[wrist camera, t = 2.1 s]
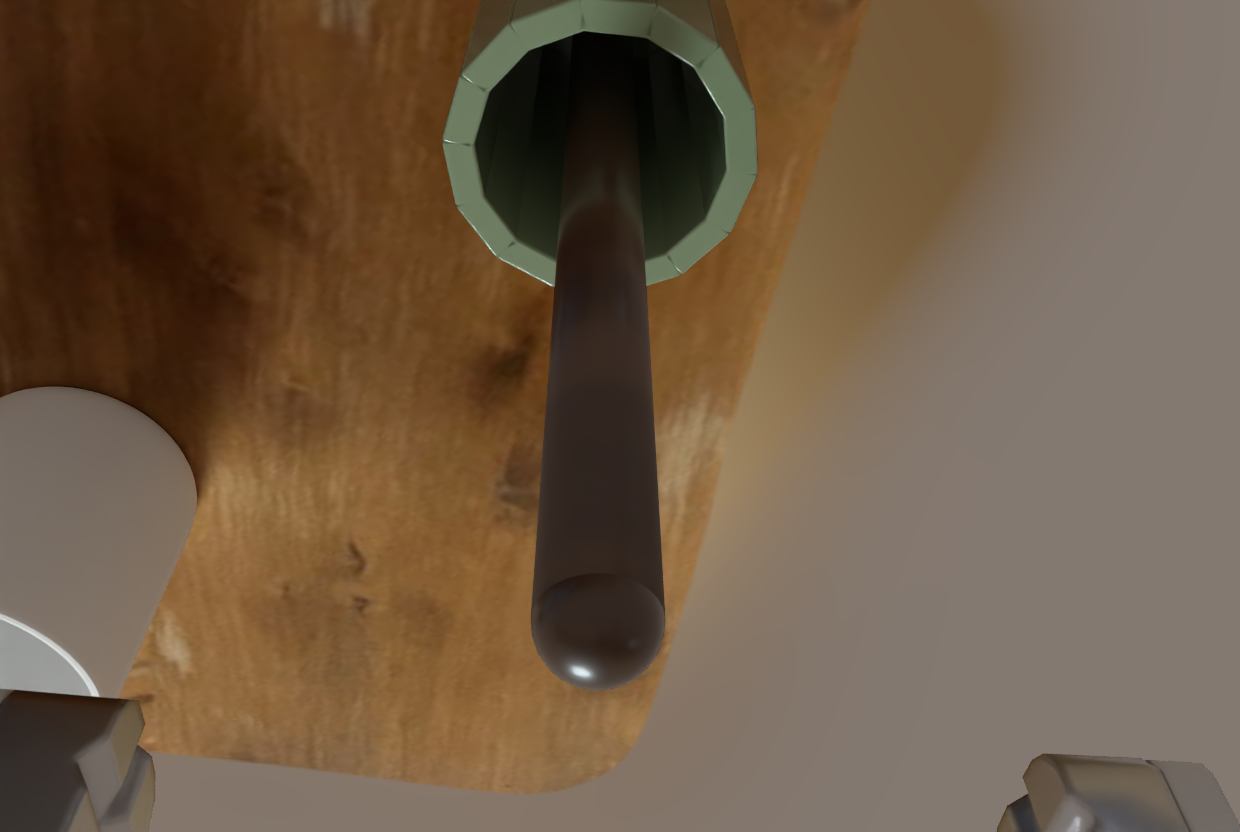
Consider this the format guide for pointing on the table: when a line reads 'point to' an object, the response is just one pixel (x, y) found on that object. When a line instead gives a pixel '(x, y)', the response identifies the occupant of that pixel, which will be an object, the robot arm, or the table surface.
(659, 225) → the crock
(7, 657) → the cup
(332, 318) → the table surface
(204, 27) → the table surface
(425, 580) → the table surface
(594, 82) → the dark wooden dowel
